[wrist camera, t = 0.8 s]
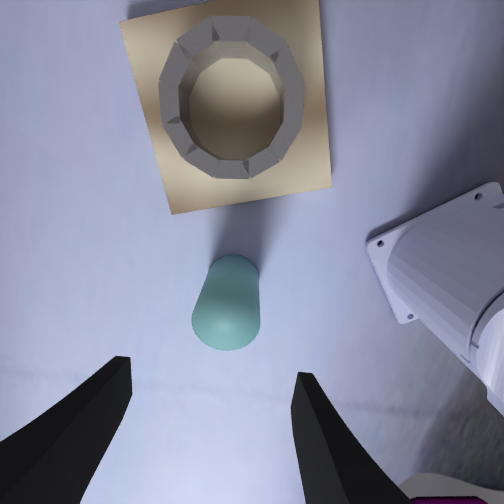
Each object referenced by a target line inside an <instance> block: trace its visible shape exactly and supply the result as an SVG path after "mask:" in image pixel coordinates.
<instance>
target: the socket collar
mask: <svg viewBox="0 0 504 504" xmlns="http://www.w3.org/2000/svg"><path fill="white" fill-rule="evenodd" d="M176 40H177V42H178V43H176V42H174V44H173V46H172V49H171V51H170V54H169V56H168V58H167V61H166V63H165V65H164V68H163V70H162V73H161V75H160V77H159V81H160V82H158V88H159V99H160V111H161V123H162V124H163V125H162V126H163V128H164V129H165V131H166V133H167V134H168V136H169V137H170V139H171V141H172V142H173V144H174V146H175V147H176V149H177V151H178V152H179V154H180V156H181V157H182V158H184V160H185V161H186V162H188V163H190V164H191V165H193V166H195V167H196V168H198V169H199V170H201V171H203V172H204V173H206V174H208V175H209V176H211V177H213V178H214V177H215V179H249V177H250V179H251V178H253V177H254V176H256V175H258V174H260V173H262V172H263V171H265V170H267V169H269V168H270V167H272V166H274V165H276V164H277V163H279V162H280V160H282V159H283V158H284V156H285V154H286V153H287V151H288V149H289V148H290V146H291V144H292V143H293V141H294V139H295V138H296V136H297V135H298V133H299V131H300V130H301V128H300V127H302V119H303V105H304V92H305V85H304V80H303V78H302V76H301V73H300V71H299V69H298V66H297V64H296V61H295V59H294V57H293V54H292V52H291V50H290V47H289V45H288V44H287V45H286V43H287V42H286V41H285V40H283V39H282V38H281V37H279V36H278V35H277V34H275V33H274V32H273V31H271V30H270V29H269V28H267V27H266V26H264V25H263V24H262V23H260V22H259V21H258V20H256V19H255V18H254V17H253V19H252V21H251V16H211V19H210V17H207V18H206V19H205V20H203V21H202V22H200V23H199V24H197V25H196V26H195V27H193V28H192V29H190V30H189V31H187V32H186V33H185V34H183V35H182V36H180V37H179V38H178V39H176ZM222 58H236V59H249V60H250V61H251V62H253V63H254V64H256V65H257V66H258V67H260V68H261V69H263V70H264V71H266V72H267V73H268V74H269V75H270V77H271V79H272V81H273V83H274V86H275V88H276V90H277V92H278V94H279V97H280V99H281V102H280V122H279V128H278V129H277V131H276V133H275V134H274V136H273V138H272V140H271V141H270V143H269V145H268V146H267V148H266V149H264V150H262V151H261V152H259V153H257V154H255V155H254V156H252V157H250V158H249V159H247V160H231V159H222V158H220V157H219V156H217V155H216V154H214V153H212V152H211V151H209V150H208V149H206V148H205V147H203V146H202V144H201V142H200V140H199V139H198V137H197V135H196V133H195V131H194V130H193V128H192V126H191V124H190V108H189V96H190V94H191V92H192V90H193V87H194V85H195V83H196V81H197V79H198V77H199V74H200V73H201V72H202V71H204V70H205V69H207V68H208V67H210V66H211V65H213V64H214V63H216V62H217V61H219V60H220V59H222Z"/></svg>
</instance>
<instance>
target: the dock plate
mask: <svg viewBox="0 0 504 504" xmlns="http://www.w3.org/2000/svg"><path fill="white" fill-rule="evenodd" d="M211 16H251V21H252V19H253V17H254V18H255V19H256V20H258V21H259V22H260V23H262V24H263V25H264V26H266V27H267V28H269V29H270V30H271V31H273V32H274V33H275V34H277V35H278V36H279V37H281V38H282V39H283V40H285V41H286V42H287V43H286V45H287V44H288V45H289V47H290V50H291V52H292V54H293V57H294V59H295V61H296V64H297V66H298V69H299V71H300V73H301V76H302V78H303V80H304V85H305V92H304V105H303V119H302V127H300V128H301V130H300V131H299V133H298V135H297V136H296V138H295V139H294V141H293V143H292V144H291V146H290V148H289V149H288V151H287V153H286V154H285V156H284V158H283V159H282V160H280V162H279V163H277V164H276V165H274V166H272V167H270V168H269V169H267V170H265V171H263V172H262V173H260V174H258V175H256V176H254V177H253V178H251V179H250V177H249V179H215V177H214V178H213V177H211V176H209V175H208V174H206V173H204V172H203V171H201V170H199V169H198V168H196V167H195V166H193V165H191V164H190V163H188V162H186V161H185V160H184V158H182V157H181V156H180V154H179V152H178V151H177V149H176V147H175V146H174V144H173V142H172V141H171V139H170V137H169V136H168V134H167V133H166V131H165V129H164V128H163V126H162V125H163V124H162V123H161V111H160V99H159V88H158V82H160V81H159V77H160V75H161V73H162V70H163V68H164V65H165V63H166V61H167V58H168V56H169V54H170V51H171V49H172V46H173V44H174V42H176V43H178V42H177V40H176V39H178V38H179V37H180V36H182V35H183V34H185V33H186V32H187V31H189V30H190V29H192V28H193V27H195V26H196V25H197V24H199V23H200V22H202V21H203V20H205V19H206V18H207V17H210V19H211ZM119 25H120V29H121V33H122V36H123V40H124V43H125V47H126V51H127V54H128V58H129V62H130V65H131V69H132V72H133V76H134V80H135V83H136V87H137V91H138V94H139V98H140V101H141V105H142V109H143V112H144V116H145V120H146V123H147V127H148V130H149V134H150V138H151V141H152V145H153V149H154V152H155V156H156V159H157V163H158V167H159V170H160V174H161V177H162V181H163V185H164V188H165V192H166V196H167V199H168V203H169V206H170V210H171V214H172V215H174V214H180V213H185V212H191V211H197V210H203V209H209V208H214V207H220V206H226V205H232V204H238V203H243V202H249V201H255V200H261V199H267V198H272V197H278V196H284V195H290V194H295V193H301V192H307V191H313V190H319V189H324V188H330V187H332V180H331V166H330V152H329V138H328V124H327V110H326V96H325V82H324V68H323V54H322V40H321V26H320V12H319V0H214V1H210V2H205V3H201V4H196V5H192V6H187V7H183V8H178V9H174V10H169V11H165V12H160V13H156V14H151V15H147V16H142V17H138V18H133V19H129V20H124V21H120V22H119ZM280 102H281V99H280V97H279V94H278V92H277V90H276V88H275V86H274V83H273V81H272V79H271V77H270V75H269V74H268V73H267V72H266V71H264V70H263V69H261V68H260V67H258V66H257V65H256V64H254V63H253V62H251V61H250V60H249V59H236V58H222V59H220V60H219V61H217V62H216V63H214V64H213V65H211V66H210V67H208V68H207V69H205V70H204V71H202V72H201V73H200V74H199V77H198V79H197V81H196V83H195V85H194V87H193V90H192V92H191V94H190V96H189V108H190V124H191V126H192V128H193V130H194V131H195V133H196V135H197V137H198V139H199V140H200V142H201V144H202V146H203V147H205V148H206V149H208V150H209V151H211V152H212V153H214V154H216V155H217V156H219V157H220V158H222V159H231V160H247V159H249V158H250V157H252V156H254V155H255V154H257V153H259V152H261V151H262V150H264V149H266V148H267V146H268V145H269V143H270V141H271V140H272V138H273V136H274V134H275V133H276V131H277V129H278V128H279V122H280Z"/></svg>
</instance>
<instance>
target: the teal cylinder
mask: <svg viewBox="0 0 504 504" xmlns="http://www.w3.org/2000/svg"><path fill="white" fill-rule="evenodd" d="M192 327H193V330H194V332H195V334H196V335H197V337H198V338H199V339H200V340H201V341H202V342H203V343H205V344H206V345H208V346H209V347H212V348H214V349H218V350H225V351H230V350H236V349H240V348H242V347H244V346H246V345H248V344H249V343H250V342H252V341H253V340H254V338H255V337H256V335H257V334H258V331H259V328H260V303H259V276H258V272H257V269H256V267H255V266H254V264H253V263H252V262H251V261H250V260H248V259H247V258H245V257H243V256H240V255H226V256H223V257H220V258H219V259H217V260H216V261H215V262H214V263H213V264H212V265H211V267H210V269H209V272H208V274H207V277H206V280H205V282H204V285H203V287H202V290H201V292H200V295H199V298H198V300H197V303H196V305H195V308H194V310H193V313H192Z"/></svg>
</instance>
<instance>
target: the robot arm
mask: <svg viewBox="0 0 504 504" xmlns="http://www.w3.org/2000/svg"><path fill="white" fill-rule="evenodd" d="M476 194H478V197H477V198H476V199H475V195H476ZM380 240H382V243H381V244H380V245H377V243H378V241H380ZM366 250H367V252H368V255H369V257H370V259H371V261H372V264H373V266H374V268H375V271H376V273H377V275H378V278H379V280H380V282H381V285H382V287H383V289H384V292H385V294H386V296H387V298H388V301H389V303H390V305H391V308H392V310H393V312H394V315H395V317H396V319H397V320H398V322H399V323H401V324H405V323H408V322H410V321H413V320H415V319H418V318H419V319H420V320H421V321H422V322H423V323H424V324H425V325H426V326H427V327H428V328H429V329H430V330H431V331H432V332H433V333H434V334H435V335H436V336H437V337H438V338H439V339H440V340H441V341H442V342H443V343H444V344H445V345H446V346H447V347H448V348H449V349H450V350H451V351H452V352H453V353H454V354H455V355H456V356H457V357H458V358H459V359H460V360H461V361H462V362H463V363H464V364H465V365H466V366H467V367H468V368H469V369H470V370H471V371H473V372H474V373H475V374H476V375H477V376H478V377H479V378H480V379H481V381H482V382H483V383H484V384H485V385H486V387H487V391H488V395H487V399H488V400H489V401H490V402H491V404H492V405H493V406H494V407H495V408H496V409H497V410H498V411H499V412H500V413H501V414H502V415H503V416H504V194H502V189H501V186H500V184H499V183H497V182H488V183H486V184H484V185H482V186H480V187H478V188H476V189H474V190H472V191H469V192H467V193H465V194H463V195H461V196H459V197H457V198H455V199H453V200H451V201H449V202H447V203H445V204H443V205H440V206H438V207H436V208H434V209H432V210H430V211H428V212H426V213H424V214H422V215H420V216H418V217H416V218H414V219H412V220H409V221H407V222H405V223H403V224H401V225H399V226H397V227H395V228H393V229H391V230H389V231H387V232H385V233H383V234H380V235H378V236H376V237H374V238H372V239H370V240H369V241H367V243H366ZM409 314H411V315H410V316H408V315H409ZM131 396H132V379H131V361H130V357H123V356H115V357H114V358H113V359H111V360H110V361H109V362H108V363H106V364H105V365H104V366H103V367H102V368H100V369H99V370H98V371H97V372H96V373H94V374H93V375H92V376H91V377H89V378H88V379H87V380H86V381H85V382H83V383H82V384H81V385H80V386H78V387H77V388H76V389H75V390H73V391H72V392H71V393H70V394H68V395H67V396H66V397H64V398H63V399H62V400H60V401H59V402H58V403H56V404H55V405H54V406H52V407H51V408H50V409H48V410H47V411H46V412H44V413H43V414H41V415H40V416H39V417H37V418H36V419H34V420H33V421H32V422H30V423H29V424H27V425H26V426H24V427H23V428H21V429H20V430H18V431H16V432H15V433H13V434H12V435H10V436H9V437H7V438H6V439H4V440H2V441H1V442H0V504H80V502H81V499H82V497H83V495H84V493H85V491H86V489H87V487H88V484H89V482H90V480H91V478H92V477H93V475H94V473H95V471H96V469H97V467H98V465H99V463H100V461H101V459H102V458H103V456H104V454H105V452H106V450H107V448H108V446H109V444H110V442H111V441H112V439H113V437H114V435H115V433H116V431H117V429H118V427H119V425H120V423H121V421H122V419H123V417H124V414H125V412H126V409H127V407H128V404H129V401H130V399H131ZM291 417H292V429H293V437H294V442H295V448H296V453H297V458H298V464H299V469H300V474H301V479H302V485H303V490H304V495H305V501H306V504H414V503H413V502H412V501H411V500H410V499H409V498H408V497H407V496H406V495H405V494H404V493H403V492H402V491H401V490H400V489H399V488H398V487H397V486H396V485H395V483H394V482H393V481H392V480H391V479H390V478H389V477H388V476H387V475H386V474H385V473H384V472H383V470H382V469H381V468H380V467H379V466H378V465H377V464H376V462H375V461H374V460H373V459H372V458H371V457H370V455H369V454H368V453H367V452H366V450H365V449H364V448H363V447H362V445H361V444H360V443H359V442H358V440H357V439H356V438H355V436H354V435H353V434H352V432H351V431H350V430H349V428H348V427H347V426H346V424H345V423H344V421H343V420H342V418H341V417H340V416H339V414H338V413H337V411H336V410H335V408H334V407H333V405H332V404H331V402H330V401H329V399H328V398H327V396H326V394H325V393H324V391H323V390H322V388H321V386H320V385H319V383H318V381H317V380H316V378H315V376H314V375H313V374H312V373H305V372H298V375H297V380H296V384H295V389H294V394H293V399H292V404H291Z"/></svg>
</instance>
